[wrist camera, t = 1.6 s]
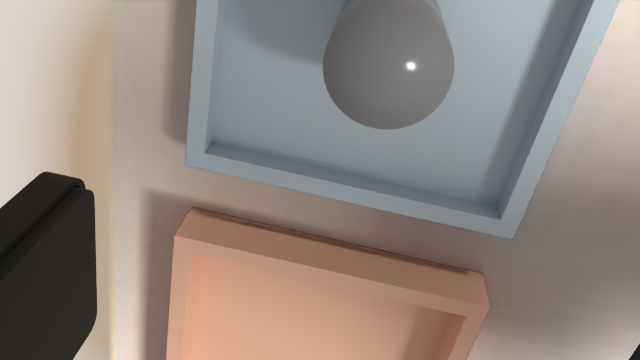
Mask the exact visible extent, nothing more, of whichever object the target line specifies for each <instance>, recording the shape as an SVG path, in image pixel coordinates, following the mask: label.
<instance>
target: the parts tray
mask: <svg viewBox="0 0 640 360" xmlns="http://www.w3.org/2000/svg"><path fill="white" fill-rule="evenodd" d="M619 1H620V0H436V2H437V4H438V6H439V8H440V11H441V14H442V17H443V20H444V24H445V27H446V30H447V33H448V37H449V40H450V43H451V46H452V50H453V55H454V75H453V79H452V83H451V86H450V89H449V91H448V93H447V95H446V97H445V98H444V100H443V101H442V103H441V104H440V105H439V106H438V107H437V108H436V110H435V111H434V112H432V113H431V114H430V115H429V116H427V117H426V118H424V119H423V120H421V121H420V122H417V123H415V124H413V125H410V126H407V127H404V128H399V129H390V130H386V129H376V128H371V127H367V126H364V125H362V124H359V123H357V122H355V121H354V120H352V119H350V118H349V117H348V116H346V115H345V114H344V113H343V112H342V111H341V110H340V109H339V108H338V107H337V106H336V104H335V103H334V102H333V100H332V99H331V97H330V95H329V93H328V91H327V88H326V85H325V82H324V76H323V58H324V53H325V49H326V46H327V44H328V41H329V39H330V37H331V34H332V32H333V29H334V27H335V25H336V22H337V20H338V17H339V15H340V13H341V10H342V8H343V6H344V4H345V2H346V0H197V5H196V18H195V32H194V46H193V59H192V73H191V87H190V100H189V114H188V128H187V142H186V155H185V166H190V167H194V168H198V169H203V170H207V171H212V172H216V173H220V174H225V175H229V176H234V177H238V178H242V179H247V180H251V181H256V182H260V183H265V184H269V185H273V186H278V187H282V188H287V189H291V190H295V191H300V192H304V193H309V194H313V195H317V196H322V197H326V198H331V199H335V200H339V201H344V202H348V203H353V204H357V205H361V206H366V207H370V208H375V209H379V210H384V211H388V212H392V213H397V214H401V215H406V216H410V217H414V218H419V219H423V220H428V221H432V222H436V223H441V224H445V225H450V226H454V227H458V228H463V229H467V230H472V231H476V232H481V233H485V234H489V235H494V236H498V237H503V238H507V239H511V240H513V238H514V236H515V233H516V231H517V229H518V227H519V224H520V222H521V220H522V218H523V215H524V213H525V211H526V209H527V207H528V204H529V202H530V200H531V198H532V195H533V193H534V191H535V189H536V186H537V184H538V182H539V180H540V178H541V175H542V173H543V171H544V169H545V166H546V164H547V162H548V160H549V157H550V155H551V153H552V151H553V149H554V146H555V144H556V142H557V140H558V137H559V135H560V133H561V131H562V128H563V126H564V124H565V122H566V120H567V117H568V115H569V113H570V111H571V108H572V106H573V104H574V102H575V99H576V97H577V95H578V93H579V91H580V88H581V86H582V84H583V82H584V79H585V77H586V75H587V73H588V70H589V68H590V66H591V64H592V62H593V59H594V57H595V55H596V53H597V50H598V48H599V46H600V44H601V41H602V39H603V37H604V35H605V33H606V30H607V28H608V26H609V24H610V21H611V19H612V17H613V15H614V12H615V10H616V8H617V6H618V4H619Z"/></svg>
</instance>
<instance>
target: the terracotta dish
mask: <svg viewBox="0 0 640 360" xmlns="http://www.w3.org/2000/svg"><path fill="white" fill-rule="evenodd" d="M489 309H490V305H489V300H488V295H487V291H486V286H485V281H484V277H483V274H482V273H478V272H473V271H469V270H465V269H460V268H456V267H452V266H447V265H443V264H438V263H434V262H430V261H425V260H421V259H416V258H412V257H408V256H403V255H399V254H395V253H390V252H386V251H381V250H377V249H373V248H368V247H364V246H359V245H355V244H351V243H346V242H342V241H338V240H333V239H329V238H324V237H320V236H316V235H311V234H307V233H302V232H298V231H294V230H289V229H285V228H281V227H276V226H272V225H267V224H263V223H259V222H254V221H250V220H245V219H241V218H237V217H232V216H228V215H224V214H219V213H215V212H210V211H206V210H202V209H197V208H193V207H192V208H191V209H190V211H189V212H188V214H187V216H186V217H185V219H184V220H183V222H182V224H181V225H180V227H179V228H178V230H177V232H176V233H175V235H174V246H173V261H172V276H171V291H170V306H169V321H168V336H167V351H166V360H466V359H467V357H468V355H469V353H470V350H471V348H472V346H473V344H474V342H475V339H476V337H477V335H478V333H479V331H480V329H481V326H482V324H483V322H484V320H485V318H486V315H487V313H488V311H489Z"/></svg>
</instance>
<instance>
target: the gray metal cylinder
mask: <svg viewBox="0 0 640 360" xmlns="http://www.w3.org/2000/svg"><path fill="white" fill-rule="evenodd" d="M453 75H454V55H453V50H452V46H451V43H450V40H449V37H448V33H447V30H446V27H445V24H444V20H443V17H442V14H441V11H440V8H439V6H438V4H437V2H436V0H346V2H345V4H344V6H343V8H342V10H341V13H340V15H339V17H338V20H337V22H336V25H335V27H334V29H333V32H332V34H331V37H330V39H329V41H328V44H327V46H326V49H325V53H324V58H323V76H324V82H325V85H326V88H327V91H328V93H329V95H330V97H331V99H332V100H333V102H334V103H335V104H336V106H337V107H338V108H339V109H340V110H341V111H342V112H343V113H344V114H345V115H346V116H348V117H349V118H350V119H352V120H354V121H355V122H357V123H359V124H362V125H364V126H367V127H371V128H376V129H386V130H390V129H399V128H404V127H407V126H410V125H413V124H415V123H417V122H420V121H421V120H423V119H424V118H426V117H427V116H429V115H430V114H431V113H432V112H434V111H435V110H436V108H437V107H438V106H439V105H440V104H441V103H442V101H443V100H444V98H445V97H446V95H447V93H448V91H449V89H450V86H451V83H452V79H453Z"/></svg>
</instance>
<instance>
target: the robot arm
mask: <svg viewBox="0 0 640 360" xmlns="http://www.w3.org/2000/svg"><path fill="white" fill-rule="evenodd" d="M95 248H96V247H95V205H94V194H93V192H92V191H91V190H87V189H85V185H84V182H83V181H82V180H81V179H79V178H74V177H69V176H65V175H60V174H55V173H51V172H43V173H41V174H40V175H38V176H37V177H36V178H35V179H34V180H32V181H31V182H30V183H29V184H28V185H27V186H26V187H25V188H23V189H22V190H21V191H20V192H19V193H17V194H16V195H15V196H14V197H13V198H12V199H11V200H9V201H8V202H7V203H6V204H5V205H4V206H3V207H1V208H0V360H73V358H74V357H75V355H76V353H77V352H78V351H79V349H80V348H81V346H82V345H83V343H84V341H85V340H86V338H87V337H88V335H89V334H90V332H91V330H92V328H93V326H94V323H95V320H96V315H97V291H96V290H97V289H96V249H95ZM629 360H640V344H639V345H638V347H637V348H636V350H635V351H634V353H633V354H632V356H631V357H630V359H629Z"/></svg>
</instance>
